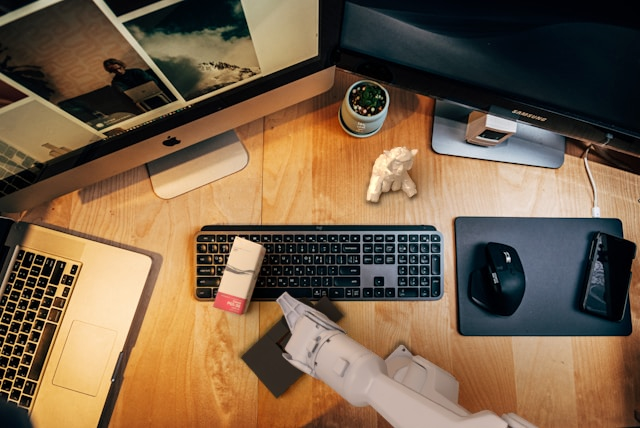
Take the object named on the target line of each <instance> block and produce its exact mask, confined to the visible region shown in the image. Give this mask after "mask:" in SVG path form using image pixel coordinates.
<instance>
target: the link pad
mask: <svg viewBox="0 0 640 428" xmlns="http://www.w3.org/2000/svg"><path fill="white" fill-rule="evenodd" d="M314 306H315V307H314V308H313V309H315V310H317V311H319V312H321V313H322V314H324V315H325V316H326V317H327V318H328V319H329V320H331V321H332V322H334V323H336V324H337V323H338V322H339V321H340V320H341V319H342V318H343V317H344V314H343V313H342V312H341V311H340V310H339V309H338V307H336V306H335V304H333V302H332V301H331V300H330V299H329V298H328V297H327V296H326V295H323V296H322V297H321V298H320V299H319V300H318V301H317V302H316V303H315V304H314ZM291 336H292V333H291V331H290V332H289V333H287V334H286V335H285V336H284V337H282V338H281V339H280V342H279V344H280V345H281V347H282V348H283V349H284V350H285V347H286V345H287V343H288V342H289V340H290V338H291Z"/></svg>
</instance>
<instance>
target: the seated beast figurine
mask: <svg viewBox="0 0 640 428" xmlns="http://www.w3.org/2000/svg"><path fill="white" fill-rule="evenodd" d="M418 152H419V149H417V148H414V149H409V148H408V147H406V146H395V147H393V148H391V149H390V150H387V149H384V150H383V153H381V154H379V156H378V157H377V158H376V160H375V161H374V164H373V166H372V170H371V177H370V179H369V185H368V189H367V190H366V192H367V193H366V199H365V200H366V202H371V203H378V202H379V199H380V196H381V195H382V193H388V192H389V191H390V190H391V191H393V192H394V191H396V192H397V191H398V190H399V191H400V190H402V191H403V192H404V193H405V194H406V195H407V196H408V198H411V197H413V196H415V195H416V194H418V190H417V189H416V188H417V185H416V183H415V182H414V181H413V179H412V178H411V176H410V174H409V172H408V171H409V170H411V169H412V168H413V164H414V161H415V158H414V157H415V156H416V155H417V154H418Z"/></svg>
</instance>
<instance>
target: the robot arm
mask: <svg viewBox="0 0 640 428" xmlns="http://www.w3.org/2000/svg"><path fill="white" fill-rule="evenodd" d="M275 301H276V302H277V304H278V305H279V306H280V308H281V311H282V313H283V315H282V316H281V317H280V320H281V322H282V324H283V325H284V326H285V327H286V328H287V329H288V330H289V331H290V332H291V333H292V336H291V338H290V340H289V342H288V343H287V345H286V347H285V349H284V350H285V351H286V352H287V353H288V354H286V353H283V354H282V355H283V357H284V358H285V359H286V360H288V361H289V362H290V363H291V364H292V365H293V366H295V367H296V368H298V369H299V370H301V371H303V372H304V373H305V374H307V375H308V376H311V377H312V378H313V379H317V380H320V381H322V382H323V383H324V384H325V385H327V386H328V387H329V388H330V389H332V390H333V392H335V393H336V394H338V395H339V396H340V397H342V398H343V399H344V400H345V401H346V402H348V403H349V404H350V405H351V406H353V407H356V408H364V407H368V406H370V407H372V408H373V409H374V410H375V412H377V413H378V414H379V415H380V416H381V417H383V418H384V420H386V422H387V423H389V425H391V426H392V427H393V428H540V427H539V426H537V425H536V424H535V423H533V422H530V421H529V420H528V419H525V418H524V417H522V416H520V415H519V414H517V413H514V412H513V411H512V412H508V413H502V415H501V417H500V416H499V415H498V413H496V412H495V411H493V410H489V409H483V410H480V411H477V412H474V413H472V412H471V411H469V410H468V409H466V408H465V407H464V406H462V405H461V404H459V392H460V382H459V381H458V380H457V378H456V377H455V376H453V375H452V374H451V373H450V372H449V371H447V370H446V369H443V368H442V367H441V366H439V365H437V364H435V363H433V362H432V361H430V360H428V359H427V358H424V357H423V356H421V355H419V354H418V355H413V354H412V353H411V352H410V351H409V350H408V349H407V348H406V346H405V345H404V344H399V345H398V346H397V347H396V348H395V349H394V350H393V351H392V352H391V353H390V355H389V356H387V357H386V358H385V359H384V358H382V357H381V356H380V355H378V354H377V353H375V352H373V351H372V350H371V349H369V348H368V347H366V346H364V345H362V344H361V343H360V342H358V341H356V340H355V339H353V338H352V337H350V336H349V335H348V332H347V331H346V330H345V329H344V328H343V327H341V325H339V324H337V323H334V322H332V321H331V320H329V319H328V318H327V317H326V316H325V315H324V314H322V313H321V312H319V311H317V310H315V309H313V308H314V307H315V306H314V305H315V304H314V303H313V302H312V301H311V299H310V298H308V297H305V296H304V297H301V298H299V299H298V300H297V299H296V298H294V297H292V296H291V295H290V294H289V293H288V291H285V292H283V293H282V294H281V295H280V296H279V297H278V298H277V299H276V300H275ZM289 331H288V332H289Z"/></svg>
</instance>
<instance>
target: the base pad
mask: <svg viewBox="0 0 640 428" xmlns="http://www.w3.org/2000/svg"><path fill="white" fill-rule="evenodd" d="M288 332H289V330H288V329H287V328H286V327H285V326H284V325H283V324H282V322H281V319H279V321H277V323H275V324H274V325H273V326H272V327H271V328H270V329H268V331H267V332H266V333H265V334H263V336H261V338H259V339H258V340H257V341H256V342H255V343H254V344H253V345H251V347H250V348H248V350H247V351H246V352H244V353H243V355H241V357H240V359H241V360H242V361H243V362H244V363H245V364H246V366H247V367H248V368H249V369H250V370H251V371H252V373H253V374H254V375H255V376H256V377H257V378H258V380H259V381H260V382H261V383H262V384H263V385H264V386H265V387H266V389H267V390H268V391H269V392H270V393H271V394H272V395H273V397H274V398H275V399H276V400H277V399H279V398H280V397H281V396H282V395H283V394H284V393H285V392H286V391H287V390H288V389H289V388H290V387H291V386H292V385H293V384H294V383H295V382H296V381H297V380H298V379H299V378H300V377H301V376H303V374H304V373H305V372H303V371H301V370H299V369H298V368H296V367H295V366H293V365H292V364H291V363H290V362H289V361H288V360H286V359H285V358H284V357H283V355H282V354H283V353H286V354H289V353H288V352H287V351H286V350H285V349H284V348H283V347H282V345H281V344H280V342H279V341H281V340H282V339H283V338H284V337H285V336H286V335H287V334H288Z"/></svg>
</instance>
